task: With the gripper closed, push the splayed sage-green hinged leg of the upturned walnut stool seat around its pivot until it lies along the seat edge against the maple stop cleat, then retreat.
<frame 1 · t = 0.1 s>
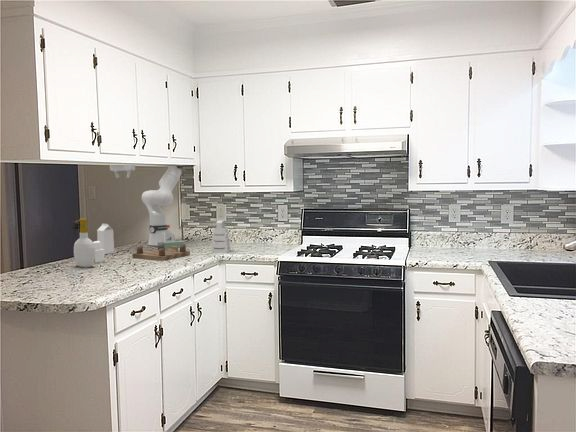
hand: (122, 177, 316), 48 cm above the worktop, fingers open, 8 cm apart
soap bottle: (84, 266, 261), on the worktop
hinged leg: (171, 245, 309), point 5 cm above the worktop, hinge at 60.0°
milk carton: (106, 253, 306), on the worktop
stool seat: (161, 256, 293), on the worktop
grey tiered tower: (221, 251, 312), on the worktop
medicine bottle: (95, 262, 276), on the worktop
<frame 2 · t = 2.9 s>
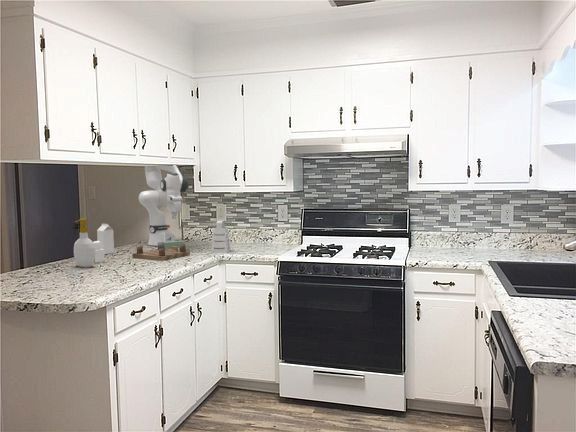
hand: (174, 218, 316), 21 cm above the worktop, fingers closed
nothing on the worktop moved.
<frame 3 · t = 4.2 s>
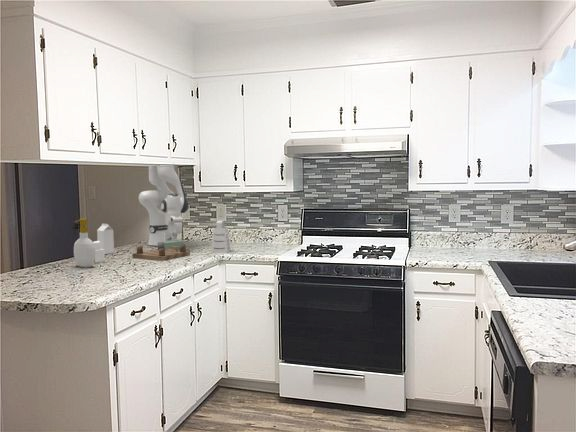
hand: (174, 239, 316), 7 cm above the worktop, fingers closed
nothing on the worktop moved.
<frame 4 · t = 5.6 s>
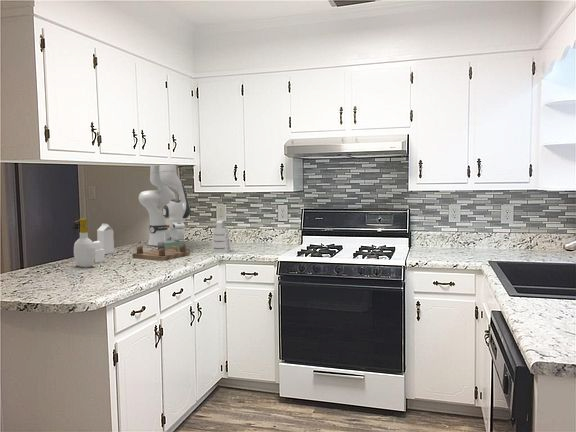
hand: (176, 245, 313), 4 cm above the worktop, fingers closed
hinged leg: (171, 245, 308), point 5 cm above the worktop, hinge at 57.5°, touching gripper
everything else where it was.
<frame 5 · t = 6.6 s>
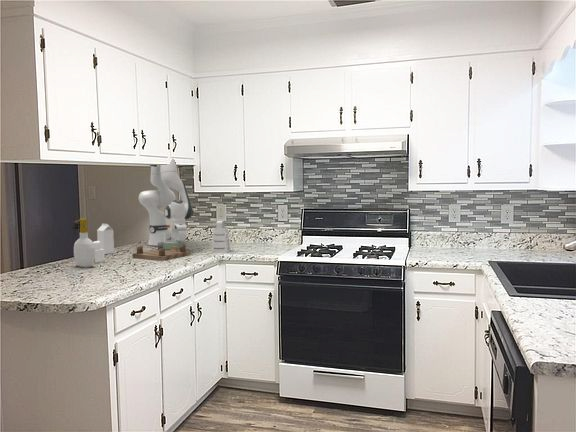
hand: (178, 247, 308), 4 cm above the worktop, fingers closed
hinged leg: (171, 245, 305), point 5 cm above the worktop, hinge at 26.6°, touching gripper
everything else where it was.
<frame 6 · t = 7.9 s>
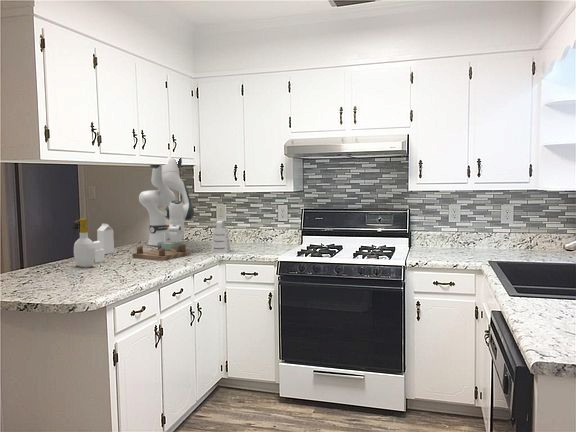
hand: (177, 248, 303), 3 cm above the worktop, fingers closed
hinged leg: (168, 246, 302), point 5 cm above the worktop, hinge at -1.2°, touching gripper, stool seat
everything else where it was.
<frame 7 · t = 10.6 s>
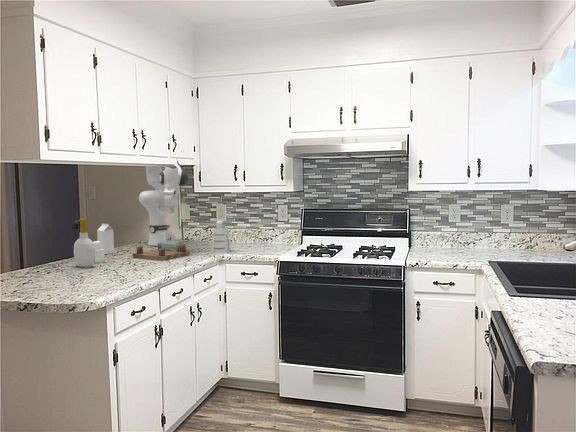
hand: (172, 213, 305), 26 cm above the worktop, fingers closed
hinged leg: (168, 246, 302), point 5 cm above the worktop, hinge at -0.9°
everything else where it was.
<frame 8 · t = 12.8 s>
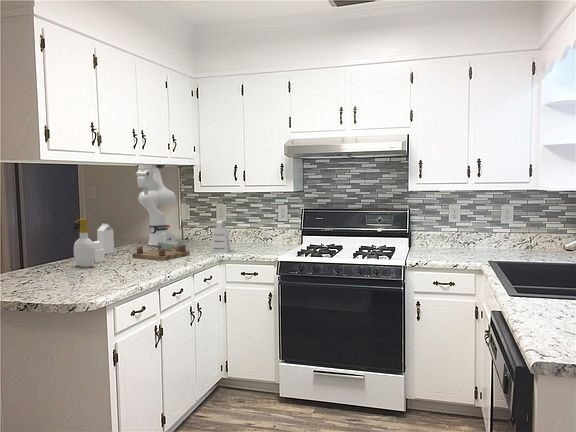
hand: (146, 194, 310), 37 cm above the worktop, fingers closed
nothing on the worktop moved.
at the end: hinged leg at -1° (first picture: +60°); the gripper is holding nothing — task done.
